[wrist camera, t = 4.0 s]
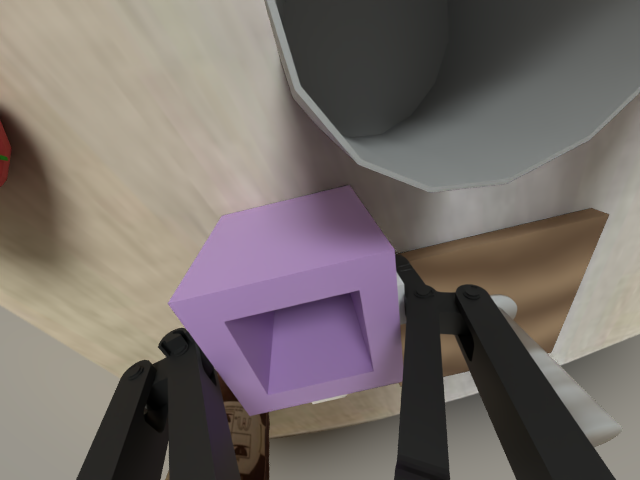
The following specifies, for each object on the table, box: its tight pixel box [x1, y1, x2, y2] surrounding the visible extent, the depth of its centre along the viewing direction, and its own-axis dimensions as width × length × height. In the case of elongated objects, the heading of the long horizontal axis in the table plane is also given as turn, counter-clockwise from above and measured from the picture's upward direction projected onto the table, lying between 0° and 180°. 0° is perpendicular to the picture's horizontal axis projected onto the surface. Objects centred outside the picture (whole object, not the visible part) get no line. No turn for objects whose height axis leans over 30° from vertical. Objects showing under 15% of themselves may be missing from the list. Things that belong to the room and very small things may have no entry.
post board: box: [395, 208, 622, 447], centre depth 18 cm, size 16×16×10 cm
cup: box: [264, 0, 640, 193], centre depth 8 cm, size 8×8×10 cm
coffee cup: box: [165, 371, 270, 480], centre depth 19 cm, size 9×8×13 cm
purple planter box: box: [168, 185, 403, 416], centre depth 15 cm, size 10×8×8 cm
